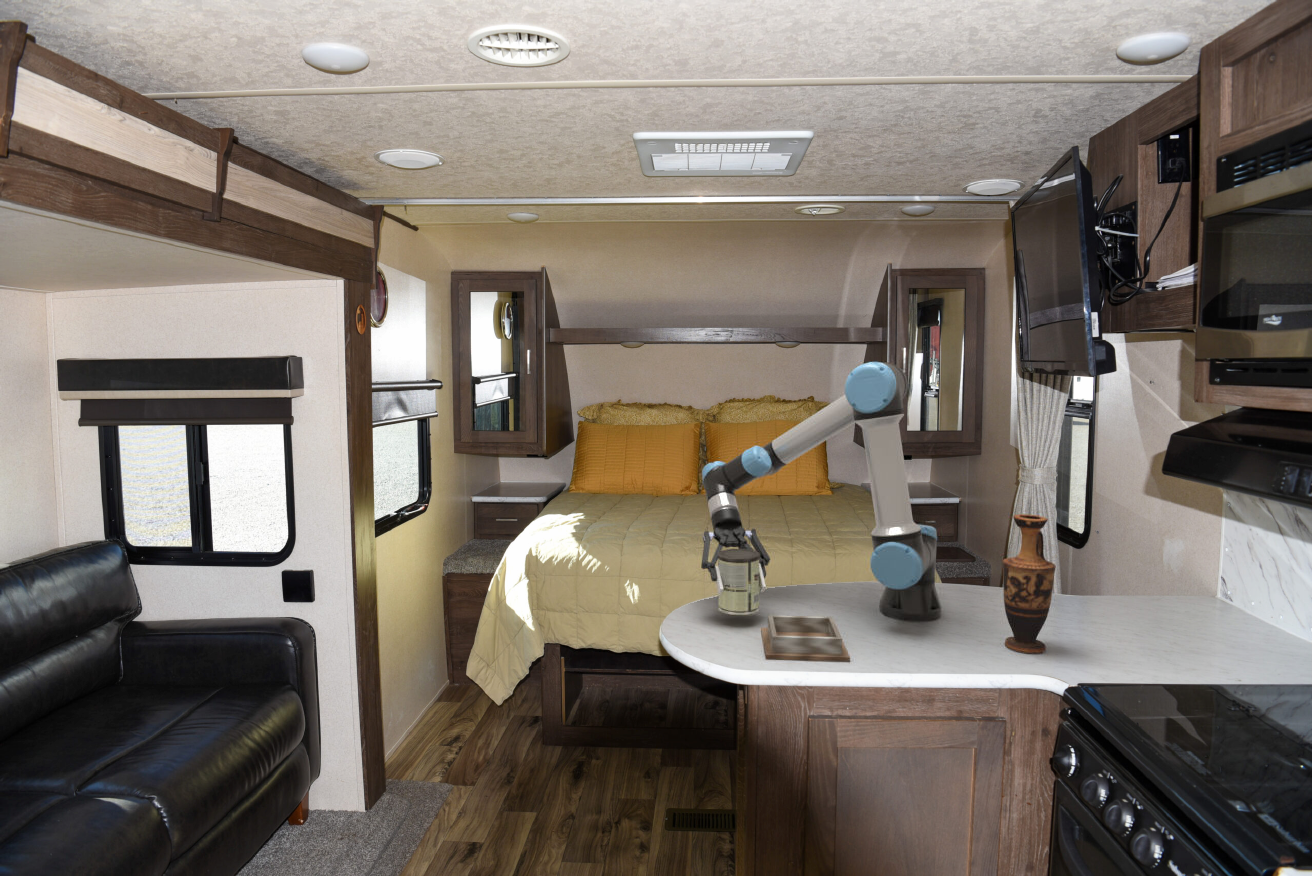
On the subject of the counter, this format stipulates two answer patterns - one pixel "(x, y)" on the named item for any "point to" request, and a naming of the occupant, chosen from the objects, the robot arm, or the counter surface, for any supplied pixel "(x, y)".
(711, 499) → the robot arm
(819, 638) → the collar board
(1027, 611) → the vase
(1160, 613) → the counter surface
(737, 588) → the coffee can
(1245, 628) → the counter surface
